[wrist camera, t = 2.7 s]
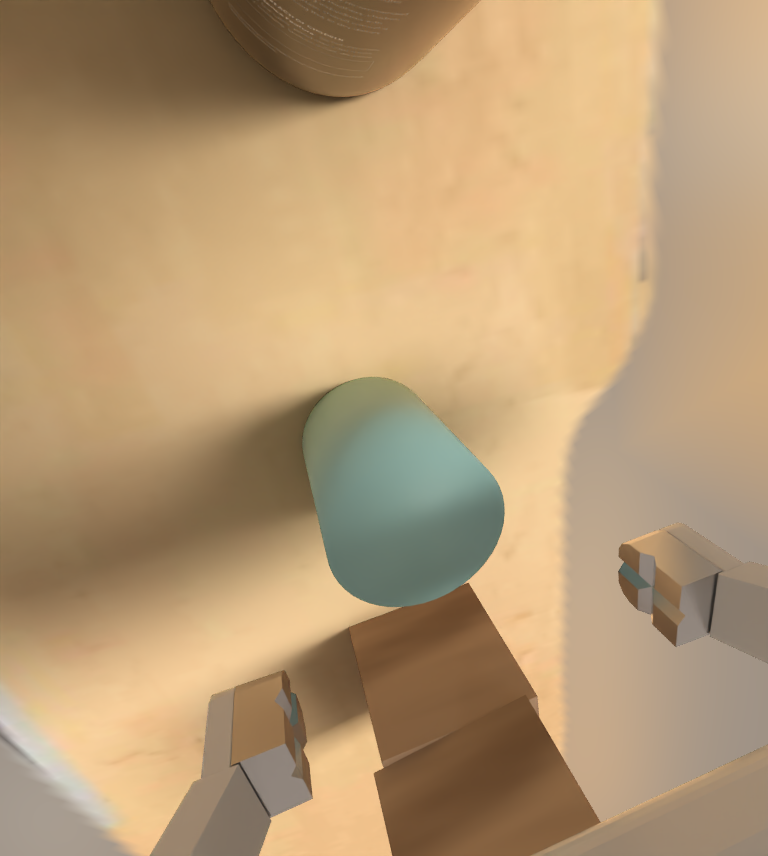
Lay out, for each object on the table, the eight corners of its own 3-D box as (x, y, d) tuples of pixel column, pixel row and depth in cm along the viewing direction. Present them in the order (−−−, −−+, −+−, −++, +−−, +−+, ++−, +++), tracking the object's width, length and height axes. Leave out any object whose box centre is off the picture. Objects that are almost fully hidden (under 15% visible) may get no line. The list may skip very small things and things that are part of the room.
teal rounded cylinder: (284, 399, 16) (302, 487, 11) (418, 361, 17) (496, 425, 12) (321, 512, 18) (351, 630, 13) (438, 474, 19) (510, 571, 14)
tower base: (348, 627, 21) (381, 761, 16) (468, 582, 22) (537, 696, 17) (375, 705, 24) (411, 843, 19) (481, 663, 25) (544, 782, 20)
